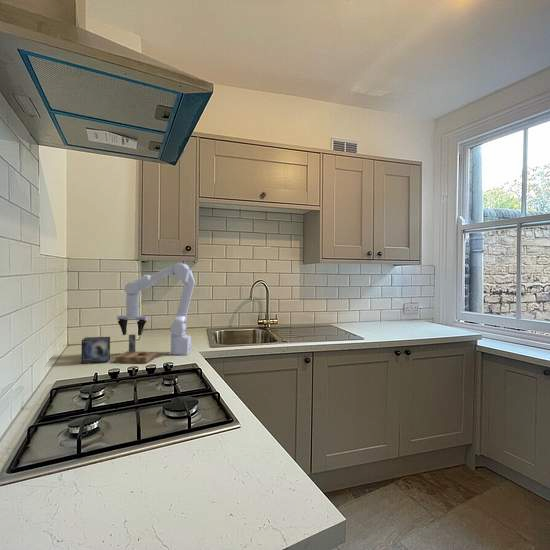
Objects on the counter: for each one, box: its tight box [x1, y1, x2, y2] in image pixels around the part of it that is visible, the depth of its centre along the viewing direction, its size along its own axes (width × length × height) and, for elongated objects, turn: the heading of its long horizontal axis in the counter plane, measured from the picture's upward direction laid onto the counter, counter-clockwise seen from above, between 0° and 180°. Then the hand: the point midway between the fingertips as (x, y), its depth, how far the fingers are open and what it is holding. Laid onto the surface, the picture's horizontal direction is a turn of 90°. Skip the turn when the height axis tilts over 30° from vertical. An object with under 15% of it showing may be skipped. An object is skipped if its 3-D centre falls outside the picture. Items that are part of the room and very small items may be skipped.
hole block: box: [114, 350, 158, 364], centre depth 157 cm, size 14×11×2 cm
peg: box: [128, 333, 137, 351], centre depth 169 cm, size 3×3×9 cm
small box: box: [80, 336, 111, 365], centre depth 153 cm, size 11×6×10 cm, turn 105°
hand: (132, 334), depth 169 cm, fingers open, 7 cm apart
